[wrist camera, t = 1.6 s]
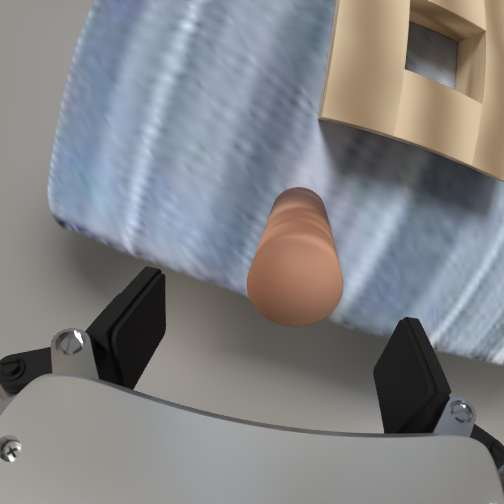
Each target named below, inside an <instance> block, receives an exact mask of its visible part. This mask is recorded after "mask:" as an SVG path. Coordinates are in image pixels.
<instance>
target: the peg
mask: <svg viewBox="0 0 504 504" xmlns="http://www.w3.org/2000/svg"><path fill="white" fill-rule="evenodd" d="M247 291H248V295H249V298H250V300H251V302H252V304H253V305H254V307H255V308H256V310H257V311H258V312H259V313H260V314H262V315H263V316H264V317H265V318H267V319H269V320H271V321H272V322H275V323H277V324H281V325H284V326H293V327H296V326H297V327H298V326H306V325H310V324H313V323H316V322H319V321H320V320H322V319H324V318H325V317H327V316H328V315H329V314H330V313H331V312H332V311H333V310H334V309H335V308H336V306H337V305H338V303H339V301H340V299H341V296H342V292H343V279H342V274H341V269H340V265H339V261H338V256H337V252H336V248H335V244H334V240H333V236H332V232H331V228H330V224H329V220H328V217H327V213H326V209H325V206H324V203H323V201H322V199H321V198H320V197H319V196H318V195H317V194H316V193H315V192H313V191H311V190H309V189H306V188H302V187H296V188H290V189H288V190H286V191H284V192H282V193H281V194H280V195H279V196H278V197H277V199H276V200H275V202H274V204H273V207H272V210H271V213H270V215H269V218H268V221H267V224H266V226H265V229H264V232H263V235H262V237H261V240H260V243H259V246H258V248H257V251H256V254H255V257H254V259H253V262H252V265H251V268H250V270H249V273H248V277H247Z"/></svg>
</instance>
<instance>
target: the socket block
mask: <svg viewBox="0 0 504 504" xmlns="http://www.w3.org/2000/svg"><path fill="white" fill-rule="evenodd" d="M409 21H411V22H413V23H416V24H418V25H421V26H423V27H426V28H428V29H430V30H433V31H435V32H437V33H439V34H442V35H444V36H446V37H448V38H450V39H452V40H454V41H456V42H458V52H457V67H456V79H455V88H454V90H453V89H451V88H449V87H447V86H445V85H442V84H440V83H438V82H436V81H433V80H431V79H428V78H426V77H424V76H421V75H419V74H416V73H413V72H411V71H408V70H405V61H406V51H407V41H408V28H409ZM318 119H319V120H324V121H328V122H332V123H337V124H341V125H345V126H349V127H353V128H356V129H360V130H364V131H367V132H371V133H375V134H378V135H381V136H385V137H388V138H391V139H394V140H397V141H400V142H403V143H406V144H409V145H412V146H415V147H418V148H421V149H424V150H426V151H429V152H432V153H434V154H437V155H440V156H442V157H445V158H447V159H450V160H452V161H455V162H457V163H459V164H462V165H464V166H466V167H469V168H471V169H473V170H475V171H478V172H480V173H482V174H485V175H487V176H490V177H492V178H495V179H497V180H500V181H502V182H504V1H503V0H336V4H335V12H334V19H333V27H332V34H331V40H330V47H329V54H328V60H327V67H326V73H325V79H324V85H323V91H322V97H321V103H320V108H319V114H318Z"/></svg>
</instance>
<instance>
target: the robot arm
mask: <svg viewBox="0 0 504 504" xmlns="http://www.w3.org/2000/svg"><path fill="white" fill-rule="evenodd" d="M165 313H166V312H165V275H164V274H162V273H161V270H160V269H157V268H152V267H148V266H147V267H145V268H144V269H143V270H142V271H141V272H140V273H139V274H138V275H137V276H136V278H135V279H134V280H133V281H132V282H131V283H130V284H129V285H128V286H127V287H126V288H125V289H124V290H123V292H122V293H120V294H118V295H117V296H116V297H115V298H114V299H113V301H112V302H111V303H110V304H109V305H108V306H107V307H106V308H105V309H104V310H103V311H102V313H101V314H100V315H99V316H98V317H97V318H96V319H95V320H94V322H93V323H92V324H91V325H90V326H89V328H88V329H87V330H86V331H83V330H81V329H77V328H68V329H64V330H62V331H60V332H58V333H57V334H56V335H55V336H54V337H53V339H52V341H51V347H48V348H43V349H38V350H33V351H28V352H23V353H18V354H12V355H9V356H6V357H4V358H3V359H1V360H0V504H504V446H503V445H502V444H501V443H500V442H499V441H498V440H496V439H495V438H494V437H492V436H491V435H489V434H488V433H487V432H485V431H484V430H483V429H481V428H480V427H478V426H477V425H476V424H474V423H475V420H476V413H475V410H474V408H473V406H472V405H471V404H470V403H469V402H468V401H467V400H465V399H463V398H460V397H454V398H451V399H450V397H449V394H450V393H451V389H450V387H449V384H448V382H447V380H446V377H445V375H444V373H443V370H442V368H441V365H440V363H439V361H438V359H437V356H436V354H435V352H434V350H433V348H432V346H431V343H430V341H429V339H428V337H427V335H426V333H425V331H424V329H423V327H422V325H421V323H420V321H419V319H417V318H410V317H405V318H404V319H403V320H400V321H399V322H398V324H397V326H396V328H395V330H394V332H393V334H392V336H391V338H390V340H389V342H388V344H387V346H386V347H385V349H384V351H383V353H382V355H381V357H380V358H379V360H378V362H377V364H376V366H375V368H374V372H373V375H374V380H375V384H376V390H377V395H378V399H379V405H380V410H381V416H382V421H383V427H384V434H372V433H346V432H330V431H319V430H309V429H299V428H292V427H284V426H278V425H271V424H265V423H259V422H253V421H248V420H243V419H238V418H233V417H229V416H224V415H219V414H215V413H211V412H207V411H202V410H198V409H195V408H191V407H187V406H184V405H180V404H177V403H173V402H169V401H166V400H163V399H160V398H156V397H153V396H150V395H147V394H144V393H141V392H137V391H135V390H133V389H134V387H135V385H136V384H137V382H138V380H139V378H140V376H141V375H142V373H143V371H144V369H145V368H146V366H147V364H148V362H149V361H150V359H151V357H152V355H153V354H154V352H155V350H156V348H157V347H158V345H159V343H160V341H161V340H162V338H163V336H164V334H165V330H166V314H165Z"/></svg>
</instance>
